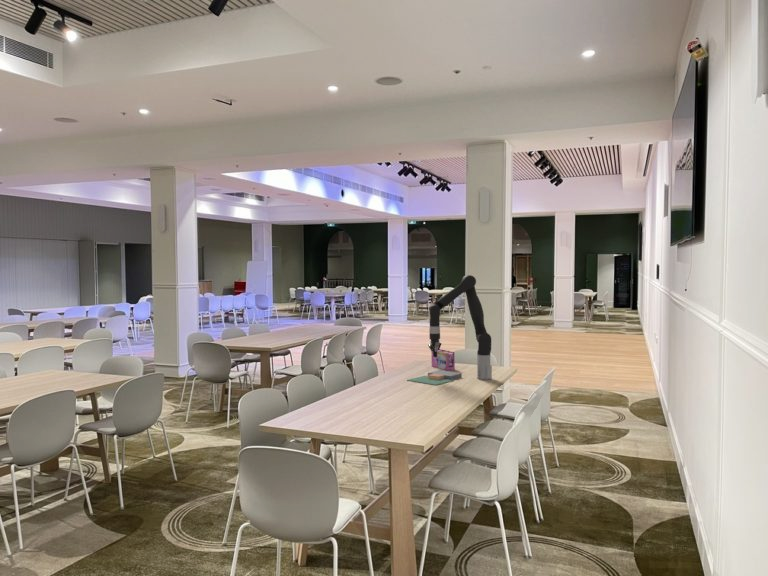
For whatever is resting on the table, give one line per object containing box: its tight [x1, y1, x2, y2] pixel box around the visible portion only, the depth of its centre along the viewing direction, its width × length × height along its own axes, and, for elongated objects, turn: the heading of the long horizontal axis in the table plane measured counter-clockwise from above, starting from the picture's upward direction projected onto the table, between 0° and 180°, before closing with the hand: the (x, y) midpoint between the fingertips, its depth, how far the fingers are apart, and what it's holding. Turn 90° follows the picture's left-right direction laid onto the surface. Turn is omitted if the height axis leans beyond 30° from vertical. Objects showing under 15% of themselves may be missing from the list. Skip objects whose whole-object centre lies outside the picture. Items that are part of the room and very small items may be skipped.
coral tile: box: [427, 374, 444, 380], centre depth 405 cm, size 9×7×2 cm
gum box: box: [430, 348, 456, 371], centre depth 451 cm, size 24×8×14 cm, turn 27°
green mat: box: [406, 375, 455, 386], centre depth 400 cm, size 26×20×1 cm
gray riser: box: [427, 369, 463, 380], centre depth 413 cm, size 20×14×3 cm
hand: (435, 356), depth 404 cm, fingers closed
